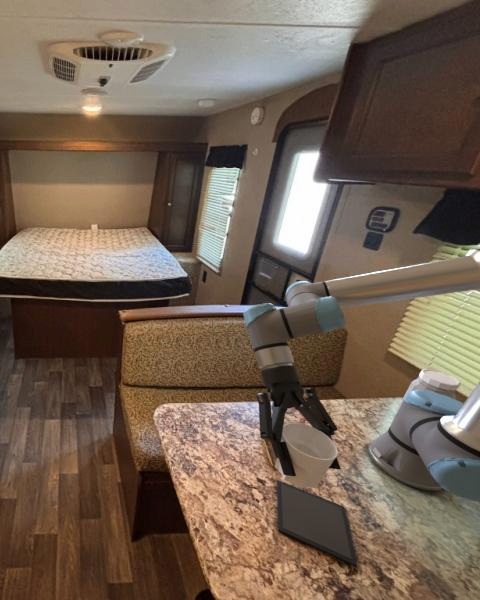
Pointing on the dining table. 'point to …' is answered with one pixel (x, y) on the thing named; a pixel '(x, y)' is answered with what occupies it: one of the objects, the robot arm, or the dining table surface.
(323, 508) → the mat
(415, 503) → the dining table surface
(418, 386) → the jar
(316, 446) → the cup
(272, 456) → the shard
